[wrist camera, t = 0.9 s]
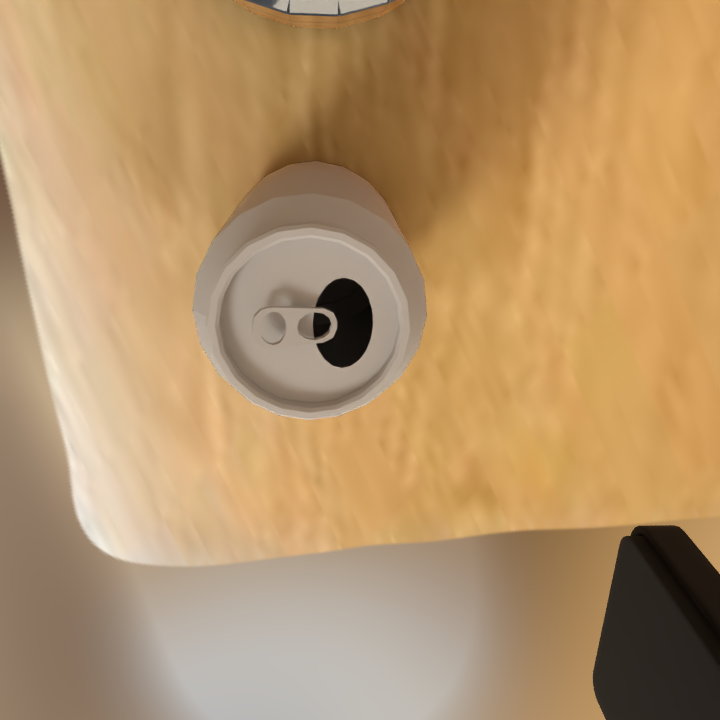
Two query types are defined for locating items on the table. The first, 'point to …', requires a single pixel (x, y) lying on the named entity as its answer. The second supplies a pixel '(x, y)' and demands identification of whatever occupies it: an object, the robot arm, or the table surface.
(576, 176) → the table surface
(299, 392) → the can
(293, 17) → the bowl
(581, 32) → the table surface
